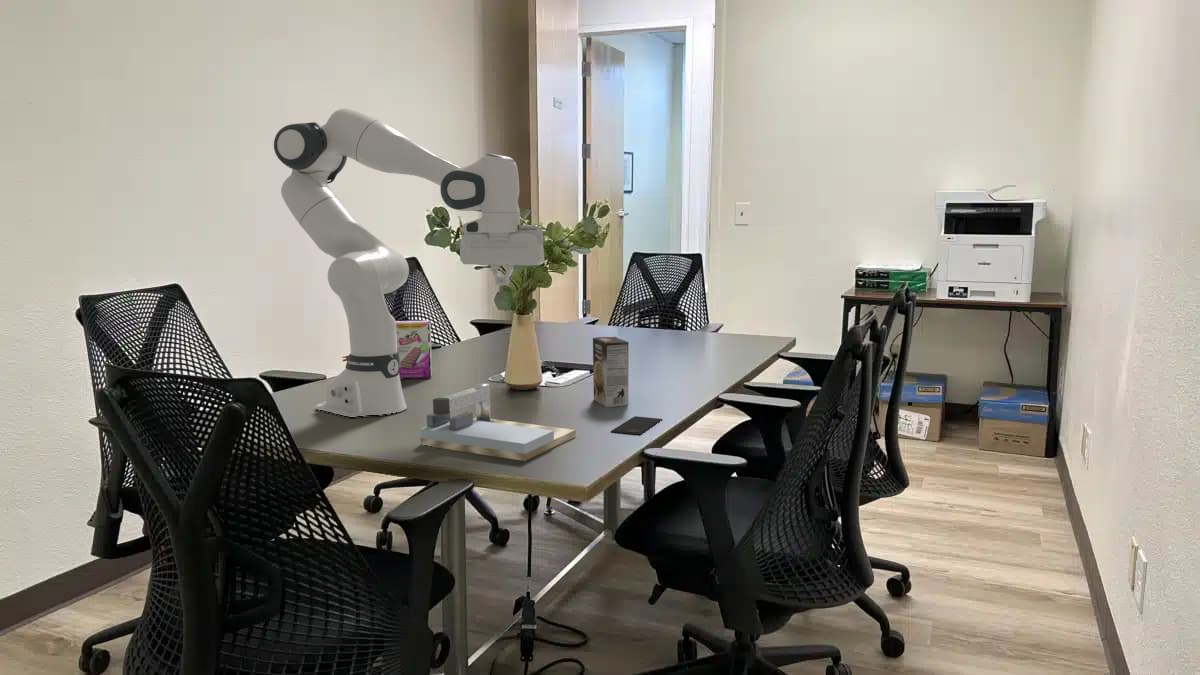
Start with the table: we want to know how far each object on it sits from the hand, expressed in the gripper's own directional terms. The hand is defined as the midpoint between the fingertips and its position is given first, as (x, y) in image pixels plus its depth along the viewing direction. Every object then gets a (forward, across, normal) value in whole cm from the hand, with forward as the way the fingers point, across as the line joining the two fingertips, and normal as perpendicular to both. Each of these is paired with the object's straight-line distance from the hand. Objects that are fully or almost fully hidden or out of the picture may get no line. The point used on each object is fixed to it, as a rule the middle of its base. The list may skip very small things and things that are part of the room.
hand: (502, 284), depth 208 cm
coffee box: (+31, -22, -16) cm, 41 cm away
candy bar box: (+31, +42, -33) cm, 62 cm away
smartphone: (+32, -34, +4) cm, 46 cm away
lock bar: (+29, +1, +22) cm, 37 cm away
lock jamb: (+31, -8, +24) cm, 40 cm away
